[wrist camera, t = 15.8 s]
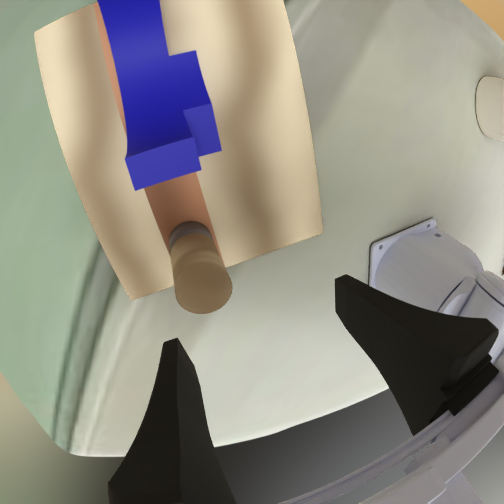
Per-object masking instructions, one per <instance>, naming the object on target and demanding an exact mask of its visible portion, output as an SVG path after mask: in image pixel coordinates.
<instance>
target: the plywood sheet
mask: <svg viewBox="0 0 504 504" xmlns="http://www.w3.org/2000/svg"><path fill="white" fill-rule="evenodd" d="M160 7H161V14H162V21H163V27H164V32H165V38H166V43H167V48H168V53H169V56H172V55H176V54H180V53H185V52H189V51H194V50H196V53H197V57H198V61H199V65H200V69H201V73H202V76H203V80H204V83H205V86H206V89H207V92H208V95H209V98H210V100H211V103H212V107H213V112H214V116H215V121H216V125H217V130H218V135H219V139H220V144H221V148H222V151H219V152H215V153H212V154H208V155H204V156H201V157H199V161H200V165H201V169H202V170H200V171H197V172H194V173H190V174H187V175H183V176H180V177H177V178H174V179H170V180H167V181H164V182H161V183H158V184H155V185H152V186H149V187H146V188H143V189H140V190H137V191H135V190H134V187H133V184H132V181H131V178H130V175H129V171H128V168H127V165H126V162H125V157H126V153H127V132H126V123H125V116H124V109H123V103H122V98H121V92H120V87H119V82H118V77H117V73H116V68H115V64H114V59H113V55H112V51H111V47H110V43H109V39H108V35H107V31H106V27H105V24H104V20H103V17H102V13H101V10H100V7H99V4H98V2H96V3H93V4H91V5H89V6H86V7H84V8H82V9H79V10H77V11H75V12H73V13H70V14H68V15H66V16H64V17H62V18H60V19H58V20H56V21H54V22H52V23H50V24H49V25H47V26H45V27H43V28H41V29H40V30H38V31H36V32H34V37H35V44H36V50H37V56H38V61H39V66H40V71H41V76H42V81H43V85H44V89H45V93H46V97H47V101H48V105H49V109H50V112H51V116H52V119H53V123H54V126H55V129H56V133H57V136H58V139H59V142H60V145H61V148H62V151H63V154H64V157H65V160H66V163H67V165H68V168H69V171H70V173H71V176H72V179H73V181H74V184H75V186H76V189H77V191H78V194H79V196H80V199H81V201H82V203H83V206H84V208H85V210H86V213H87V215H88V217H89V220H90V222H91V224H92V226H93V228H94V231H95V233H96V235H97V237H98V239H99V241H100V243H101V245H102V247H103V249H104V251H105V253H106V255H107V257H108V259H109V261H110V263H111V265H112V267H113V269H114V271H115V273H116V275H117V276H118V278H119V280H120V282H121V284H122V286H123V287H124V289H125V291H126V293H127V295H128V296H129V298H130V300H134V299H137V298H140V297H143V296H146V295H149V294H152V293H154V292H157V291H160V290H163V289H166V288H169V287H172V286H174V280H173V272H172V265H171V257H170V248H169V237H170V234H171V232H172V230H173V229H174V228H175V227H176V226H177V225H179V224H180V223H183V222H186V221H197V222H200V223H202V224H204V225H205V226H206V227H207V228H208V229H209V231H210V233H211V236H212V238H213V240H214V243H215V245H216V247H217V250H218V252H219V254H220V257H221V259H222V261H223V264H224V266H225V268H226V267H229V266H232V265H235V264H238V263H240V262H243V261H246V260H249V259H252V258H255V257H257V256H260V255H263V254H266V253H269V252H272V251H274V250H277V249H280V248H283V247H286V246H289V245H291V244H294V243H297V242H300V241H303V240H305V239H308V238H311V237H314V236H317V235H319V234H322V233H323V225H322V215H321V205H320V196H319V188H318V179H317V172H316V164H315V157H314V150H313V143H312V136H311V130H310V124H309V118H308V112H307V106H306V101H305V95H304V90H303V84H302V79H301V74H300V69H299V65H298V60H297V55H296V51H295V46H294V42H293V38H292V33H291V29H290V25H289V21H288V17H287V13H286V9H285V6H284V2H283V0H160Z"/></svg>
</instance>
